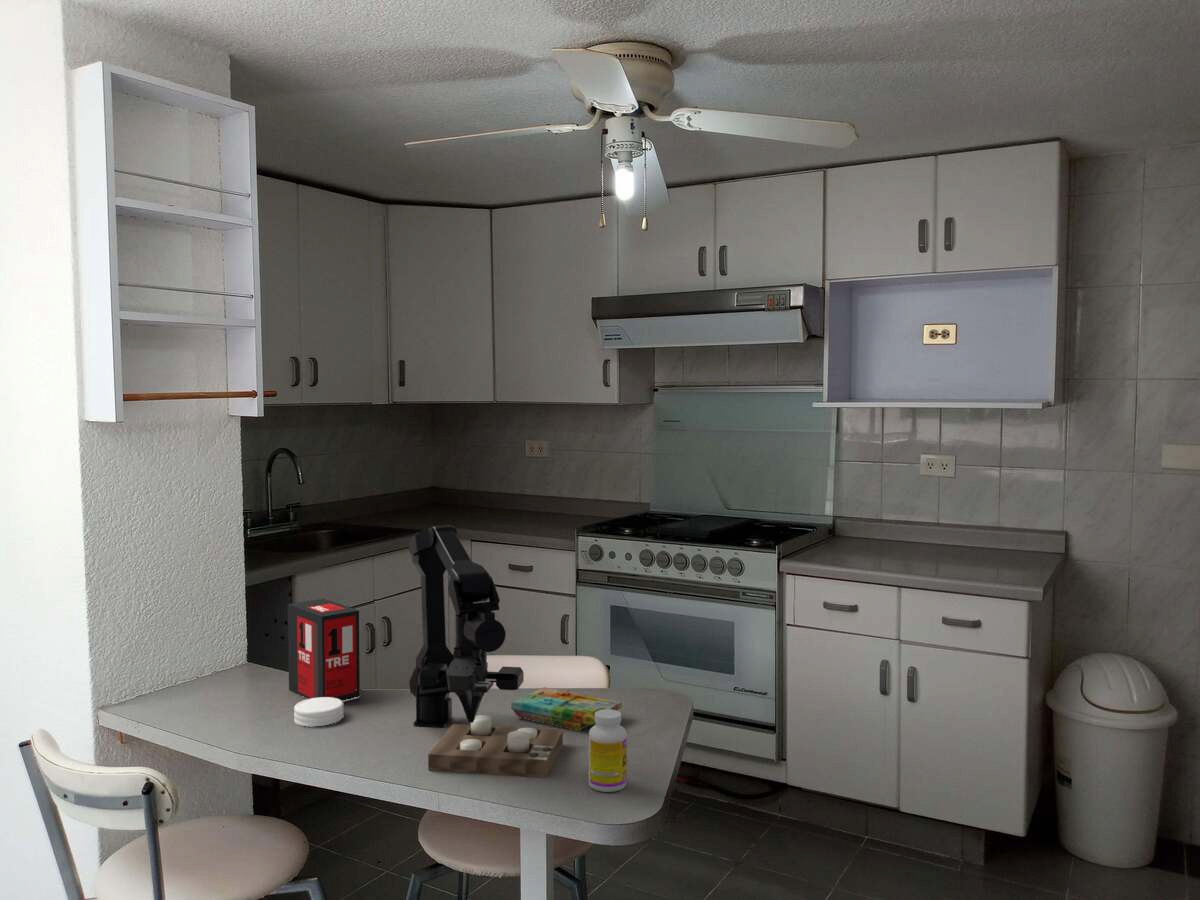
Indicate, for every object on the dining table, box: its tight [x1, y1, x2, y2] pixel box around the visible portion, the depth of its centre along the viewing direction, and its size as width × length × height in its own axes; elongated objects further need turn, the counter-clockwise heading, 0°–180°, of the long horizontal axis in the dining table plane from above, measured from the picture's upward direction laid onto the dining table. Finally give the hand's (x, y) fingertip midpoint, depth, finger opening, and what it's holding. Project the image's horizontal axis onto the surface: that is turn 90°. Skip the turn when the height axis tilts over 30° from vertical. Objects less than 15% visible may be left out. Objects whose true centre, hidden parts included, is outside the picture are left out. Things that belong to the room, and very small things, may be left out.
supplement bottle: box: [588, 709, 628, 793], centre depth 165 cm, size 7×7×13 cm
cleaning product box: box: [287, 598, 361, 701], centre depth 215 cm, size 16×9×20 cm, turn 43°
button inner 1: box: [470, 714, 493, 736], centre depth 184 cm, size 4×4×3 cm
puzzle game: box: [511, 686, 622, 731], centre depth 200 cm, size 12×5×20 cm
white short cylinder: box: [293, 697, 345, 728], centre depth 199 cm, size 10×10×4 cm
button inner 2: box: [517, 727, 537, 739], centre depth 182 cm, size 4×4×3 cm
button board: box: [427, 723, 564, 778], centre depth 178 cm, size 22×16×3 cm
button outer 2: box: [507, 731, 529, 753], centre depth 175 cm, size 4×4×3 cm
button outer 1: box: [460, 739, 482, 751], centre depth 176 cm, size 4×4×3 cm
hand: (471, 722), depth 176 cm, fingers closed
